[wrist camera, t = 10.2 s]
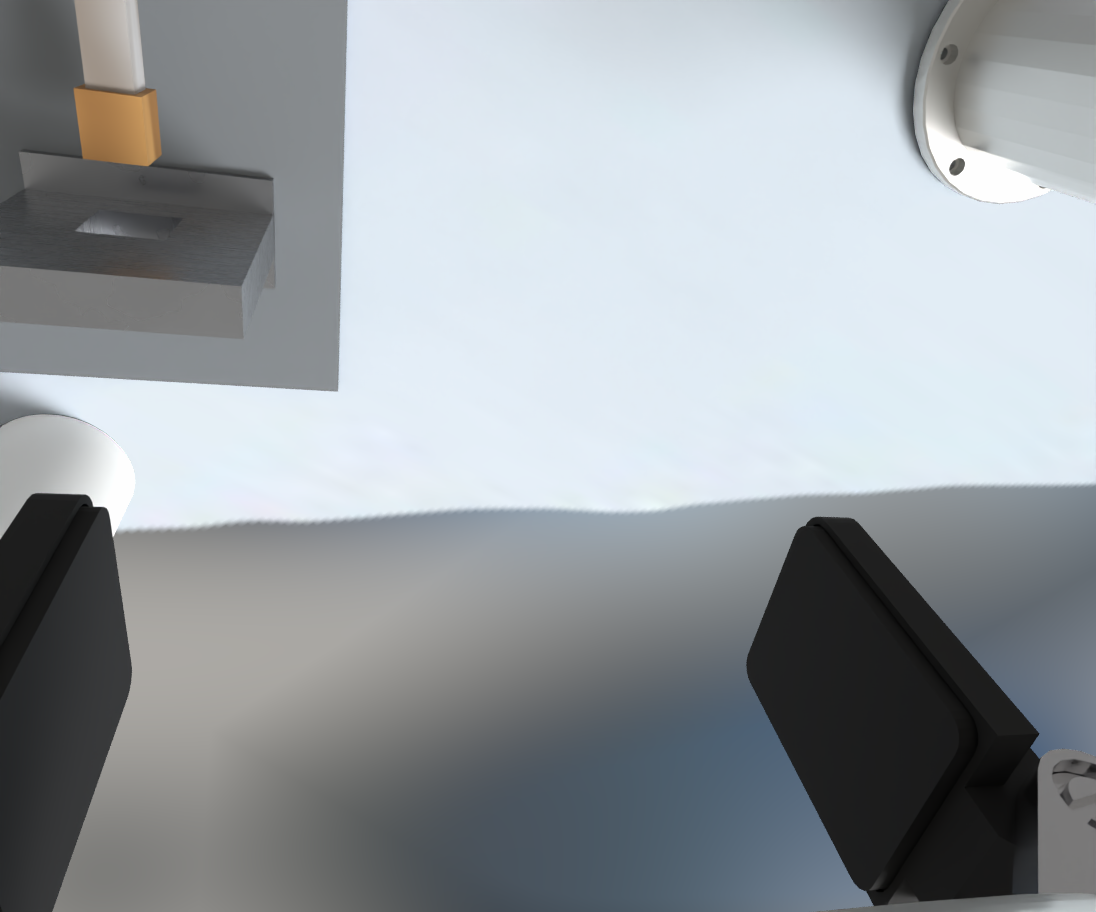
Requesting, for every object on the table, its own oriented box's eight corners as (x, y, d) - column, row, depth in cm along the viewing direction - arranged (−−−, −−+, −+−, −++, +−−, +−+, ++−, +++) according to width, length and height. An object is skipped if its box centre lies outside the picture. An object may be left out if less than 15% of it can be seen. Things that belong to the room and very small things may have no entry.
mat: (359, -492, 26) (359, -498, 25) (338, 388, 41) (337, 391, 41) (-230, -676, 22) (-240, -686, 22) (-6, 367, 38) (-9, 371, 37)
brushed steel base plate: (273, 178, 35) (239, 244, 27) (275, 285, 38) (245, 376, 29) (23, 149, 33) (-101, 211, 24) (43, 265, 35) (-64, 357, 27)
